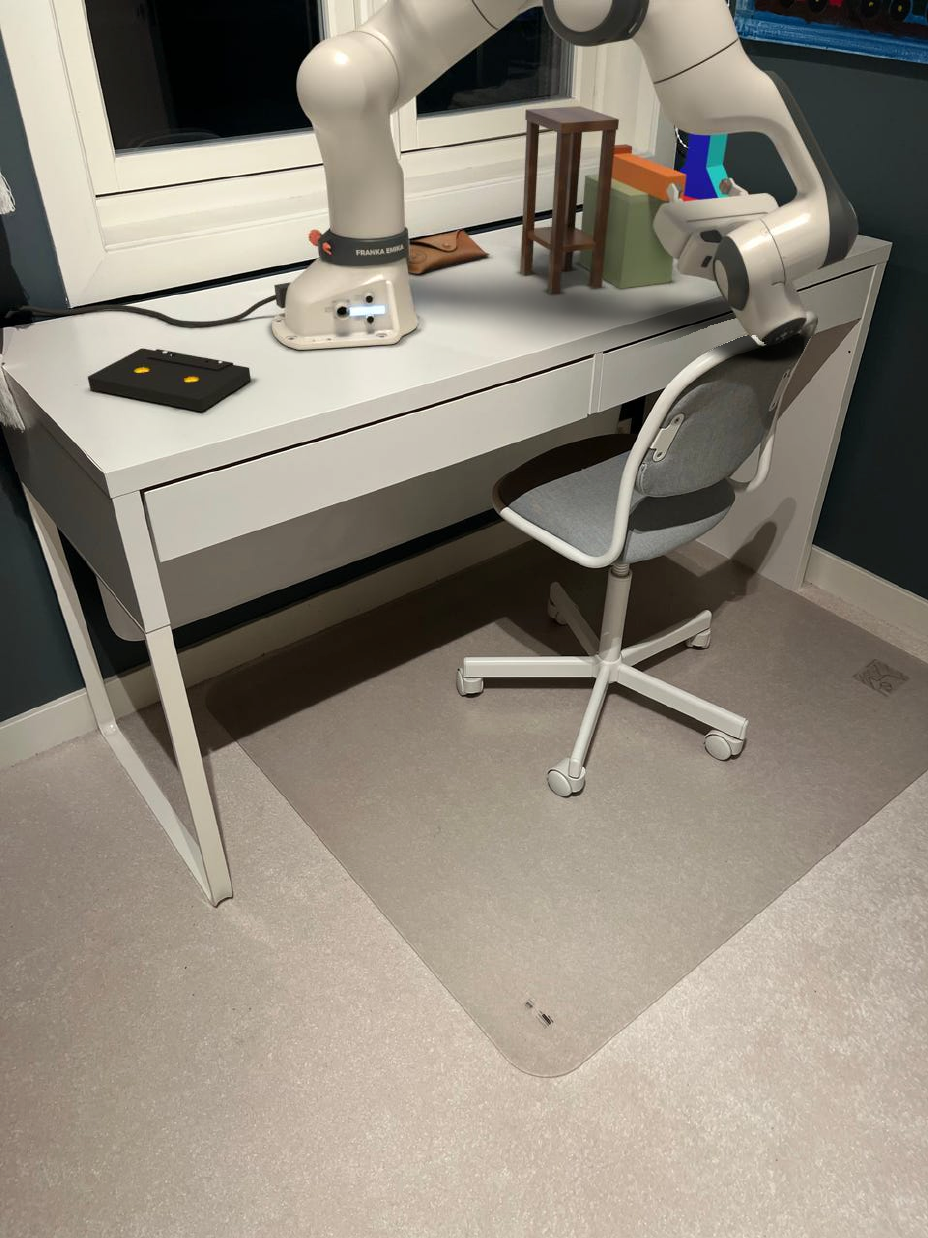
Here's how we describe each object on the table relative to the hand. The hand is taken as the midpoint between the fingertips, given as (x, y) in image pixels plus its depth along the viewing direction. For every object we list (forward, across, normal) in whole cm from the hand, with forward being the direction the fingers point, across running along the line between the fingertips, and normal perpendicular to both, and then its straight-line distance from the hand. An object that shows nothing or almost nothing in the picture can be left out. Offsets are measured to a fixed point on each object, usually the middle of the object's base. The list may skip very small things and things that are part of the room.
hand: (698, 183), depth 145 cm
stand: (+7, +13, +26) cm, 29 cm away
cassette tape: (-12, +83, +14) cm, 85 cm away
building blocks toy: (+27, -22, +37) cm, 51 cm away
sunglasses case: (+22, +28, +34) cm, 50 cm away
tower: (+12, 0, +11) cm, 16 cm away
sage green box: (+7, 0, +26) cm, 26 cm away
